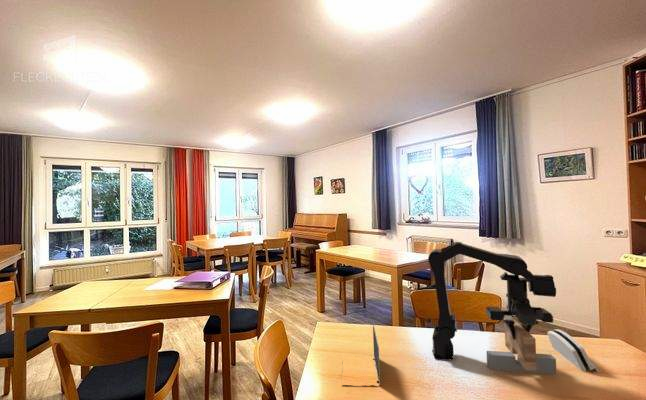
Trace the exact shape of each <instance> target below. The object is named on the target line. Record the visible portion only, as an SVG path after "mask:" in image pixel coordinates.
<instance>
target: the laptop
mask: <svg viewBox="0 0 646 400" xmlns="http://www.w3.org/2000/svg"><path fill="white" fill-rule="evenodd" d="M372 333H373V334H372V335H373V336H372V337H373V356H374V359H375V363H376V369H375V370H377V374H378V381H379V385H380V386H381V370H380V369H381V368H380V367H381V365H380V348H379V342H378V338H377V333H376V329H375V324H372Z"/></svg>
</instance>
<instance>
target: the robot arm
mask: <svg viewBox="0 0 646 400" xmlns="http://www.w3.org/2000/svg"><path fill="white" fill-rule="evenodd" d="M458 255H462V256H465V257H468V258H472V259H475V260H478V261H482V262H485V263H488V264H491V265H494V266H496V267H498V268H499V269H501V270H503V271H504V272H503V274H501V275H500V279H501V281H506V288H507V289H506V291H507V293H505V296H506V297H507V305H506V309H507V310H503V309H501V308H500V307H498V306H486V308H485V314H486V316H487V317H488V318H489V319H490V320H492V321H500V322H501V321H502V322H503V323H504V322H505V323H506V325H507V327H508V330H509V332H510V334H511V336H512V338H513V339H514V340H515V332H514V323H515V322H514V321H513V320H512V319H513V317H514V318H517V321H518V323H519V324H521V326H522V327H523V328H524V329H525V330H526V331H527V332H529V333H530V331H531V329H532V328H533V327H534V326H535V325H539V323H540V322H539V321H542V323H549V324H550V323H551V324H552V323H554V316H553V314H552V313H551V312H550V311H548V310H547V309H545V308H543V307H539V306H538V307H535V306H532V305H531V301H530V299H529V298H528V292H529V293H532V294H533V295H534V296H541V297H542V296H543V297H551V298H555V297H556V295H557V288H556V286H555V281H554V276H553V275H552V274H545V275H543V274H533V273H532V272H531V271H530V270H529V269H528V264H527V263H526V261H525V260H524V259H523V258H522V257H520V256H519V255H514V254H509V253H508V254H507V253H499V252H498V253H497V252H493V251H490V250H487V249H483V248H479V247H476V246H473V245H468V244H465V243H463V242H461V241H456V242H454V243H452V244H449V245H448V246H445V247H443V248H440V249H439V248H434V249H433V250H431V251H430V253H429V255H428V258H427V259H428V264H429V267H430V269H431V272H432V274H433V277H434V278H433V279H434V285H435V291H436V300H437V306H438V323H437V326H436V327H434V329H433V333H432V351H431V352H432V355H433V357H434V359H435V360H442V361H443V360H446V361H454V355H455V354H454V344H453V342H452V339H454V337H455V336H456V332H458V323H457V319H456V317H457V313H456V314H454V313H453V314H452V312H451V307H450V301H449V294H448V288H447V282H446V280H447V279H446V262H447V261H449V260H451V259H452V258H454V257H457V256H458ZM509 273H510V274H509ZM505 323H504V324H505Z"/></svg>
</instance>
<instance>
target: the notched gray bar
mask: <svg viewBox="0 0 646 400" xmlns="http://www.w3.org/2000/svg"><path fill="white" fill-rule="evenodd" d="M486 365H487V367H488V368H489V370H490V371H491V370H492V371H505V372H507V371H508V372H516V373H520V372H521V373H532V374H547V375H549V374H550V375H557V374H558V373H557V372H558V371H557V359H556V357H554V355H553V354H551V353H548V354H547V353H536V366H537V371H532V370H526V369H525V368H524V367H523V366H522V365H521V363H520V362H519V361H518V359H516V355H515V354H513V353H512V352H510V351H501V350H500V351H497V350H486Z"/></svg>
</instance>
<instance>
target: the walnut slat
mask: <svg viewBox="0 0 646 400" xmlns="http://www.w3.org/2000/svg"><path fill="white" fill-rule="evenodd" d="M512 320H513V321H514V322H515V323H514V332H515V340H514V339H513V338H512V336H511V334H510V332H509V330H508V327H507V325H506V323H505V322H504V321H503V323H504V339H505V340H504V341H505V343H504V344H505V347H506V348H507V349H508V350H509V352H512V353H513V354H514V355H516V356H517V359H516V360H518V361H519V362H520V363H521V365H522V366H523V367H524V368H525V369H526V370H532V371H537V366H536V354H537V346H536V342H537V341H536V338H535V337H534V336H533V335H532V334H531V333H530V331H529V332H527V331H526V330H525V329H524V328H523V327H522V324H521V323H520V322H519V321H518V320H517V321H518V322H517V321H516V319H514V318H512Z"/></svg>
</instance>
